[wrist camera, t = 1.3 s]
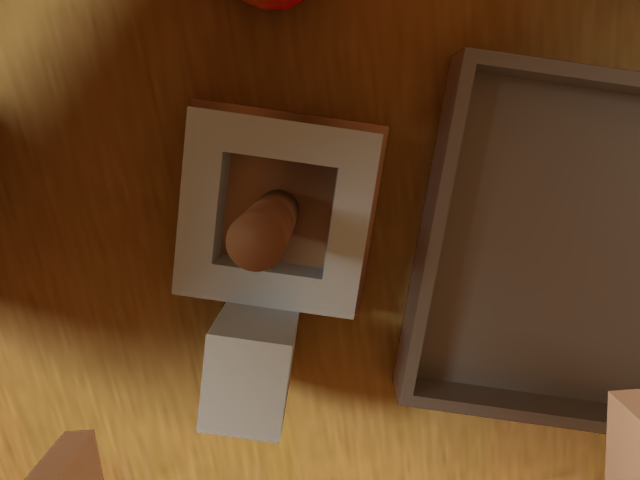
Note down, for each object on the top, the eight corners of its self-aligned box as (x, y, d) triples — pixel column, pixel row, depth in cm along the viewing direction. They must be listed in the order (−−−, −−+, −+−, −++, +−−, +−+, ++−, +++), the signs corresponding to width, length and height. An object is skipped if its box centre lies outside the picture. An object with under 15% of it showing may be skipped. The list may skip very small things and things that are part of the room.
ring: (176, 360, 31) (133, 423, 24) (199, 108, 28) (157, 100, 21) (339, 382, 31) (341, 452, 25) (378, 134, 28) (394, 133, 22)
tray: (392, 379, 32) (398, 405, 29) (450, 56, 28) (465, 46, 25) (697, 422, 32) (736, 451, 29) (798, 106, 28) (854, 102, 25)
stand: (178, 285, 31) (110, 351, 22) (194, 99, 29) (127, 80, 19) (358, 310, 31) (370, 387, 22) (388, 126, 29) (416, 122, 19)
